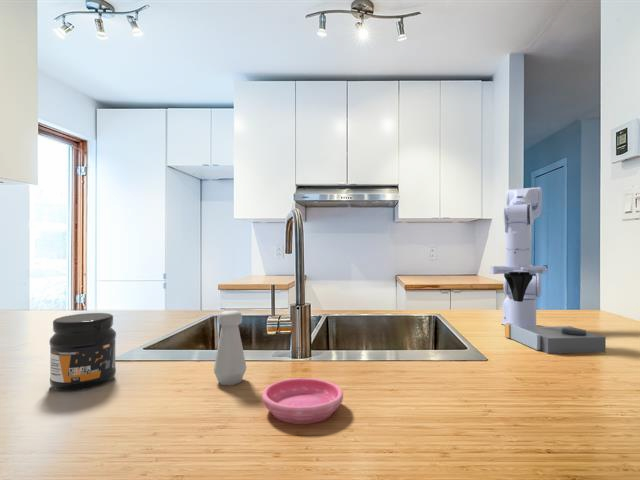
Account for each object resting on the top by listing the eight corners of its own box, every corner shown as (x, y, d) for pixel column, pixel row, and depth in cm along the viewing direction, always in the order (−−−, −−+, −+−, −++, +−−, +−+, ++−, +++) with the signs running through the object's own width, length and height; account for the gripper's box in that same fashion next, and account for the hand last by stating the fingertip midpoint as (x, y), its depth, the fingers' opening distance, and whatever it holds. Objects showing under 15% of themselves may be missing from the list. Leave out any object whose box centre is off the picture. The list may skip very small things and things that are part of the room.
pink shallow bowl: (300, 389, 69) (300, 371, 69) (358, 408, 61) (358, 388, 61) (244, 413, 59) (244, 392, 59) (306, 440, 51) (306, 416, 51)
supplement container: (38, 396, 65) (38, 325, 65) (62, 375, 76) (62, 313, 76) (108, 389, 68) (108, 321, 68) (121, 370, 78) (121, 311, 78)
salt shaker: (242, 387, 69) (242, 314, 69) (210, 387, 69) (210, 314, 69) (249, 376, 75) (248, 308, 75) (219, 376, 75) (219, 308, 75)
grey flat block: (518, 340, 101) (518, 324, 101) (570, 339, 102) (570, 323, 102) (548, 353, 89) (548, 334, 89) (605, 352, 90) (605, 333, 90)
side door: (504, 336, 104) (504, 323, 104) (509, 336, 104) (508, 323, 104) (535, 350, 91) (535, 335, 91) (540, 350, 91) (540, 335, 91)
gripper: (499, 250, 98) (499, 303, 98) (554, 250, 99) (554, 303, 99) (485, 249, 105) (485, 299, 105) (536, 249, 106) (537, 298, 106)
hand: (518, 301), depth 103 cm, fingers closed
